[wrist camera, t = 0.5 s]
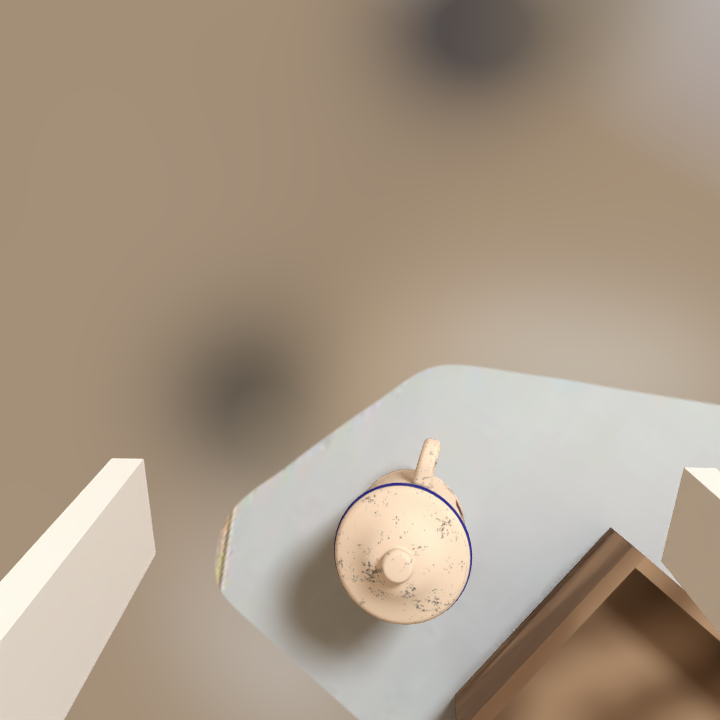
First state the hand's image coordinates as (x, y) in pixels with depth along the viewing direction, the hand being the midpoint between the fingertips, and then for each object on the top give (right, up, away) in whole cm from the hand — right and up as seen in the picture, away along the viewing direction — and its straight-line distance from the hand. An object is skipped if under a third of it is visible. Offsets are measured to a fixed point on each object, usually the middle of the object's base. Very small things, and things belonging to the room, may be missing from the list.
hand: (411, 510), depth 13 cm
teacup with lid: (+3, -8, +30) cm, 31 cm away
